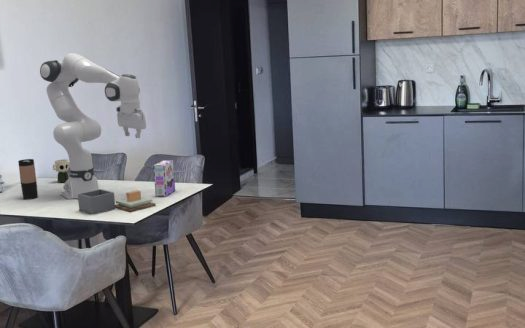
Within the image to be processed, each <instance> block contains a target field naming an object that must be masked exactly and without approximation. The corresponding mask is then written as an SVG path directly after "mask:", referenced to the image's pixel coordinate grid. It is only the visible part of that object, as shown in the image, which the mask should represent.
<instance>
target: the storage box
mask: <svg viewBox="0 0 525 328" xmlns="http://www.w3.org/2000/svg"><path fill="white" fill-rule="evenodd" d="M77 200H78V201H77V202H78V210H79V211H80V212H82V213H86V214H87V215H88V214H89V215H92V216H93V215H96V214H100V213H104V212H109V211H113V210H116V208H115V205H116V201H115V200H116V199H115V192H114V191H109V190H106V189H99V190H94V191H90V192H85V193H80V194H78V198H77Z"/></svg>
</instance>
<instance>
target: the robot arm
mask: <svg viewBox="0 0 525 328" xmlns="http://www.w3.org/2000/svg"><path fill="white" fill-rule="evenodd" d="M39 76H40V77H41V78H42V79H43V80H44V81H45V82H49V84H48V85H47V87H46V94H47V97H48V100H49V102H50V104H51V106H52V108H53V110H54V112H55V114H56V117H57V118H58V119H59V120H61V121H63V123H60V124H57V125H56V126H55V127H54V129H53V133H52V134H53V138H54V140H55V142H56V143H57V144H59V145H60V146H62V147H63V148H64V149H65V151H66V153H67V155H68V162H70V167H69V169H70V170H69V169H68V171H69V172H68V178H69V179H68V180H66V182H64V184H63V185H62V186H63V187H62V188H63V190H64V191H61V192H60V194H59V195H60V196H62V197H64V198H66V199H67V200H73V199H78V194H80V193H85V192H90V191H94V190H99V188H100V187H99V183H98V178H97V177H96V176H95V169H94V165H93V159H92V158H93V157H92V156H93V155H92V153H91V152H90V151H89V150H87V149H85V148H84V147H83V145H82V143H83V142H90V141H93V140H96V139H98V138H100V137H101V134H102V126H101V124H100V123H99V122H98V121H97V120H94V119H93V118H90V117H89V116H87V114H85V113H84V112H83V111H82V110H81V109H80V108H79V107H78V105H77V104H76V102H75V100H74V98H73V96H72V94H71V92H70V91H69V88H72V87H74V86H75V84H77V83H78V81H81V82H84V83H89V84H91V83H93V84H94V83H95V84H96V83H99V84H106V85H105V86H104V87H105V88H104V94H105V98H106V100H108V101H110V102H120V105H118V106H116V108H115V110H116V112H117V113H116V117H117V120H116V121H117V124H118V126H119V127H121V128H122V130H123V132H124V136H125V137H130V136H131V134H130V131H129V129H134V130H135V132H136V134H135V138H136V139H140V138H141V132H142V130H145V129H146V128H147V122H146V121H147V120H146V116H145V114H144V112H143V111H142V109H141V103H140V97H139V96H140V95H139V94H140V86H139V81H138V78H137V76H135V75H134V74H121V75H119V74H117V73H115V72H113V71H111V70H109V69H107V68H104V67H103V66H100V65H99V64H97V63H95V62H93V61H91V60H90V59H88V58H86V57H84V55H82V54H79V53H76V52H75V53H74V52H70V53H68V54H65V56H64V58H63V59H62V60H61V61H60V60H57V59H54V60H47V61H44V62H43V63H42V64H41V65H40V68H39Z"/></svg>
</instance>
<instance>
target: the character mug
mask: <svg viewBox="0 0 525 328" xmlns="http://www.w3.org/2000/svg"><path fill="white" fill-rule="evenodd" d="M52 169H53V171H55V172H57V182H58V183H65V182H66V181H67V180H68V179H69V173H68V172H67V171H69V169H70V161H69V159H65V158H64V159H61V158H60V159H56V160H54V164H52Z"/></svg>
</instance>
